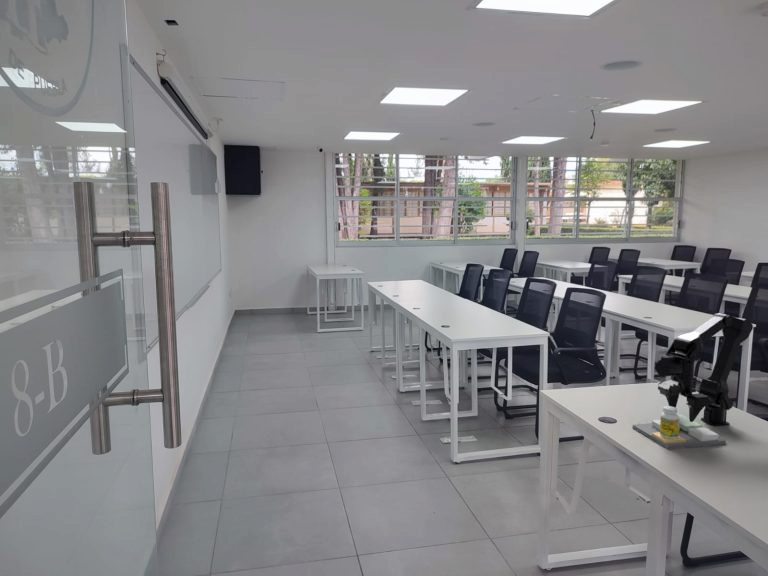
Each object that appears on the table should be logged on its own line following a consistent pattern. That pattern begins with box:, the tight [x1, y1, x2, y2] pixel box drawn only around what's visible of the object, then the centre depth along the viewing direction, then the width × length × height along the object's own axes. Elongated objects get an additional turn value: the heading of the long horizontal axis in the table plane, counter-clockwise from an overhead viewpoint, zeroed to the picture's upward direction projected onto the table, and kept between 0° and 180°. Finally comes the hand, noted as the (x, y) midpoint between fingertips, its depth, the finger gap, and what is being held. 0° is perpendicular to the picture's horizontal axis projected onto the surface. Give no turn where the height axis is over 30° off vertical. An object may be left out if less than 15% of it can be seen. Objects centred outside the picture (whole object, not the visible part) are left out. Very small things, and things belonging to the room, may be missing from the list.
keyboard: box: [632, 419, 727, 450], centre depth 178 cm, size 21×18×3 cm
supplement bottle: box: [660, 405, 679, 439], centre depth 172 cm, size 5×5×10 cm
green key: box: [676, 412, 703, 432], centre depth 183 cm, size 6×12×3 cm, turn 9°
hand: (681, 416), depth 183 cm, fingers open, 9 cm apart
